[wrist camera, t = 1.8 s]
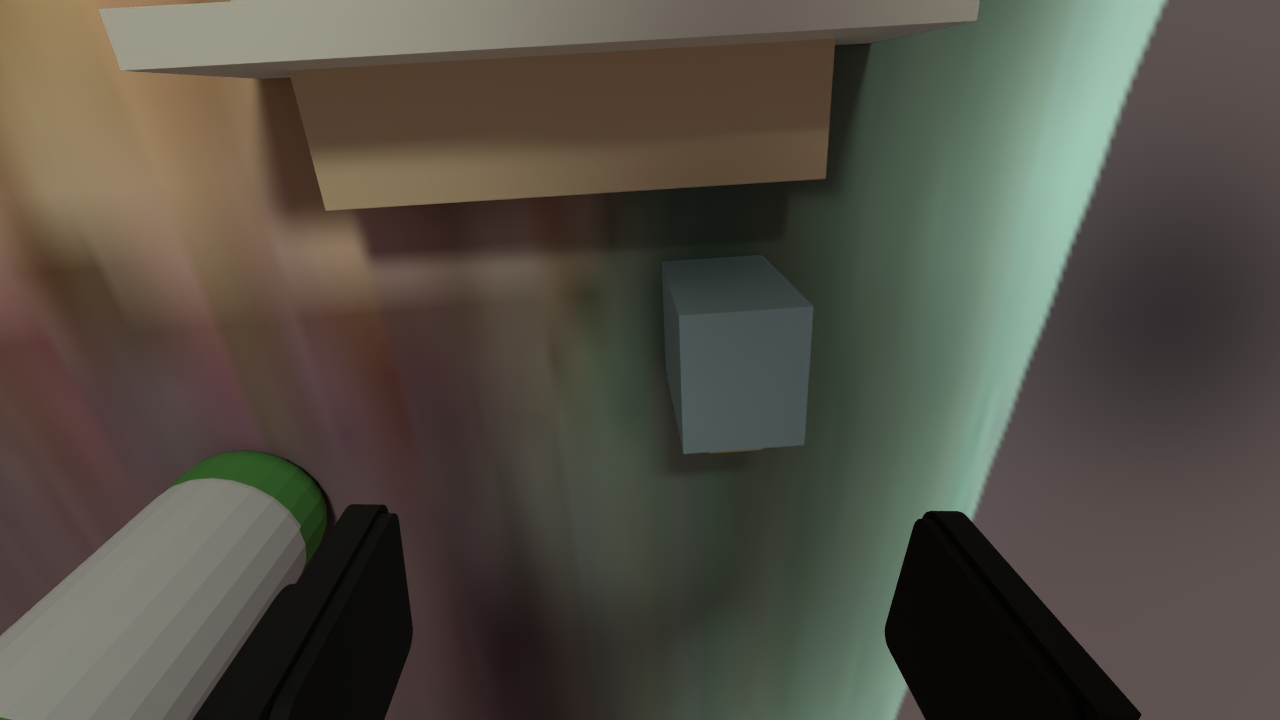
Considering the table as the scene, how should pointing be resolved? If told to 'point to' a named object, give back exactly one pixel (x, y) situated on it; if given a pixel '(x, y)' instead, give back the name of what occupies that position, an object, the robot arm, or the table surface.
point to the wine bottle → (165, 597)
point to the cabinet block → (736, 354)
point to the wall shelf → (534, 86)
